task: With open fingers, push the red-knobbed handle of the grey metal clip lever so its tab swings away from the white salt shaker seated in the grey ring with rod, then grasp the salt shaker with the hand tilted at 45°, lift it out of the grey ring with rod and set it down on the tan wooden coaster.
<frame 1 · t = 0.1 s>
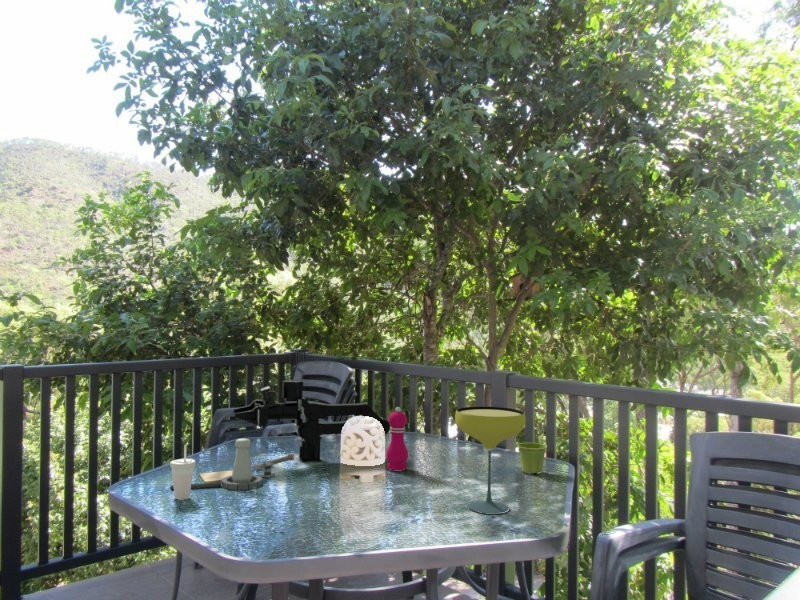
hand: (234, 413, 205), 17 cm above the table, tool horizontal, fingers open, 9 cm apart
salt shaker: (241, 485, 180), resting in grey ring with rod
coaster: (219, 477, 187), on the table
grey ring with rod: (241, 484, 180), on the table
clip: (275, 461, 193), point 4 cm above the table, hinge at 0.0°
plant pot: (531, 473, 200), on the table
cocktail glass: (488, 509, 162), on the table
smoothie: (181, 498, 166), on the table
clip post: (267, 475, 190), on the table
pepper mill: (396, 469, 201), on the table
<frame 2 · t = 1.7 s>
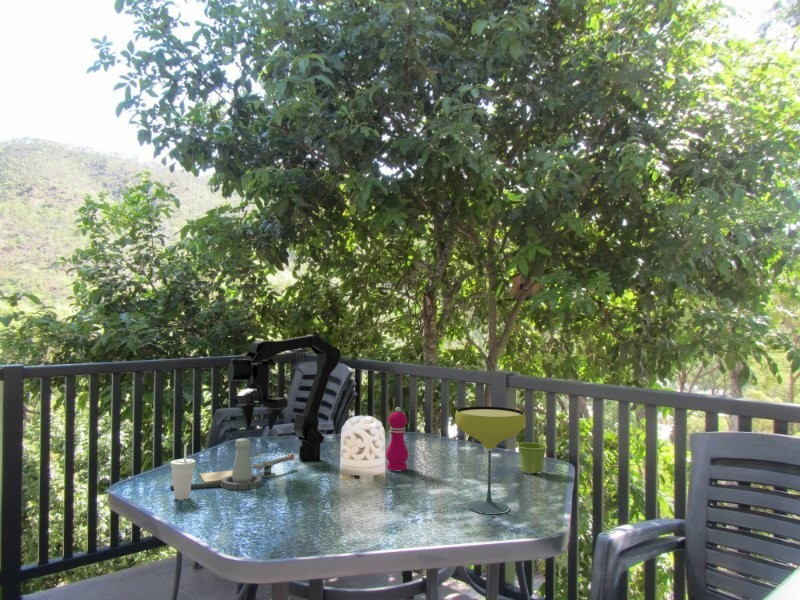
hand: (259, 428, 201), 12 cm above the table, tool pointing down, fingers open, 9 cm apart
nothing on the table moved.
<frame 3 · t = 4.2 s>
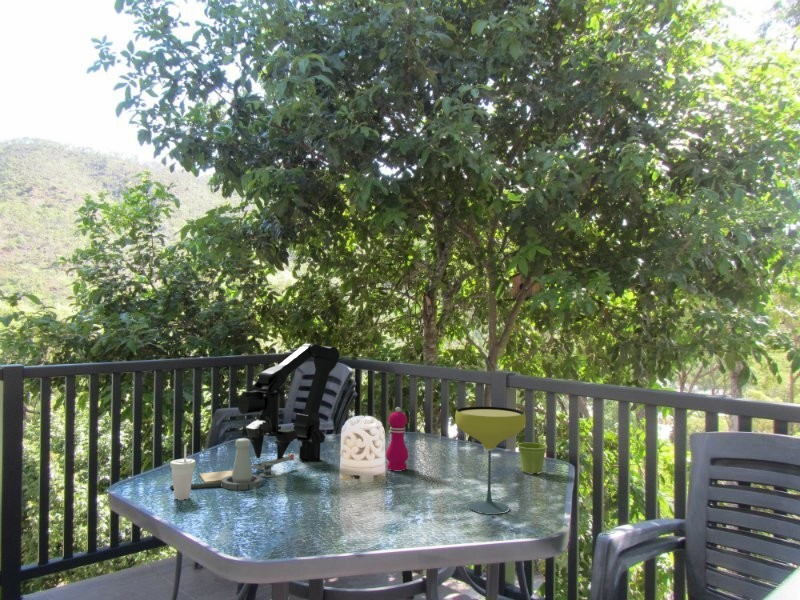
hand: (268, 459, 199), 3 cm above the table, tool pointing down, fingers open, 8 cm apart
clip: (275, 461, 193), point 4 cm above the table, hinge at 0.0°, touching gripper
everything else where it was.
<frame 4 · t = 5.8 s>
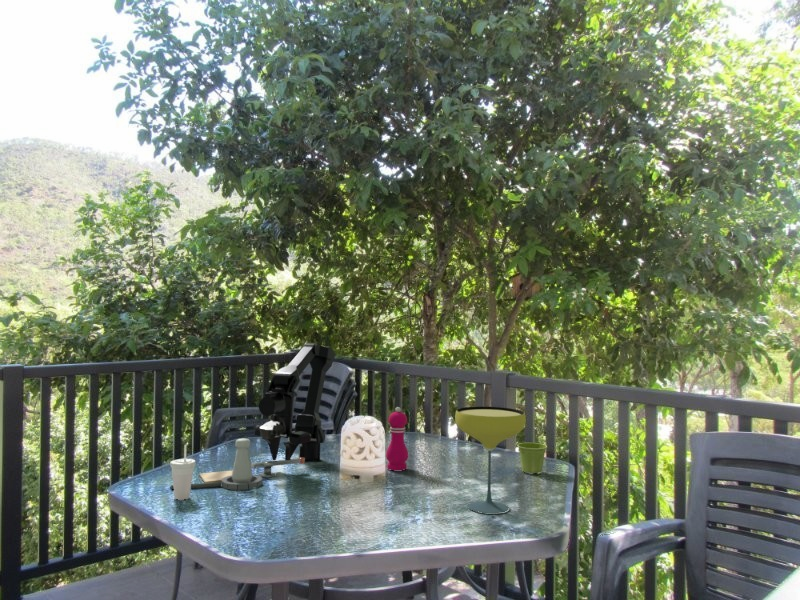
hand: (280, 461, 196), 3 cm above the table, tool pointing down, fingers open, 5 cm apart
clip: (279, 462, 192), point 4 cm above the table, hinge at 31.4°, touching gripper
everything else where it was.
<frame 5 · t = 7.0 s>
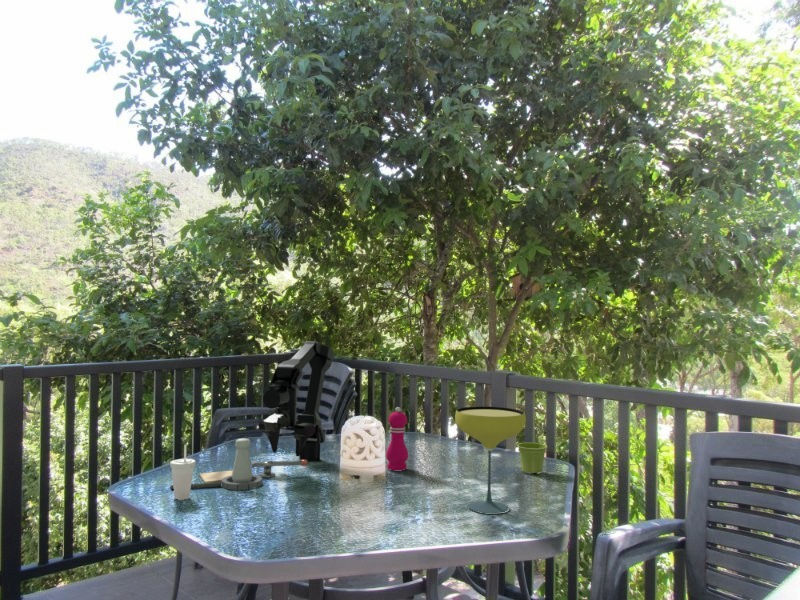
hand: (286, 454, 195), 5 cm above the table, tool pointing down, fingers open, 9 cm apart
clip: (279, 463, 191), point 4 cm above the table, hinge at 47.5°
everything else where it was.
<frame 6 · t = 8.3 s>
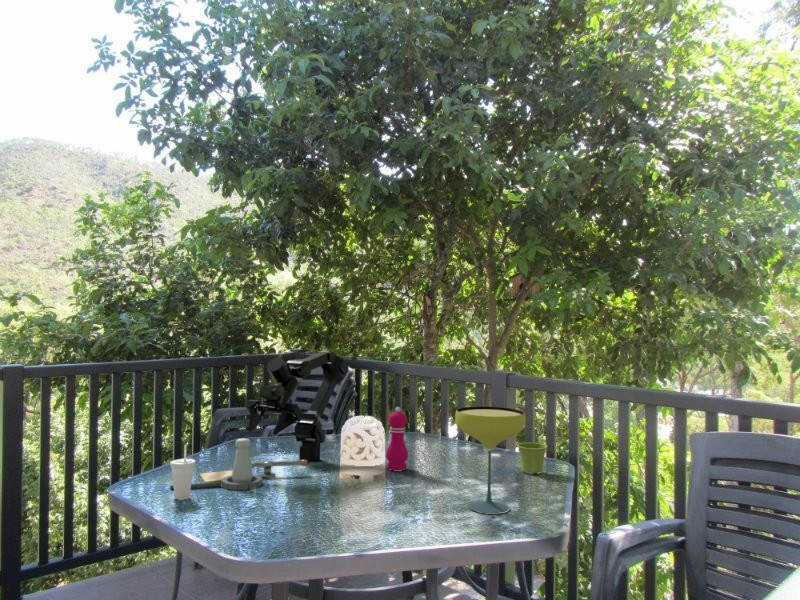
hand: (261, 432, 188), 13 cm above the table, tool tilted 45°, fingers open, 9 cm apart
nothing on the table moved.
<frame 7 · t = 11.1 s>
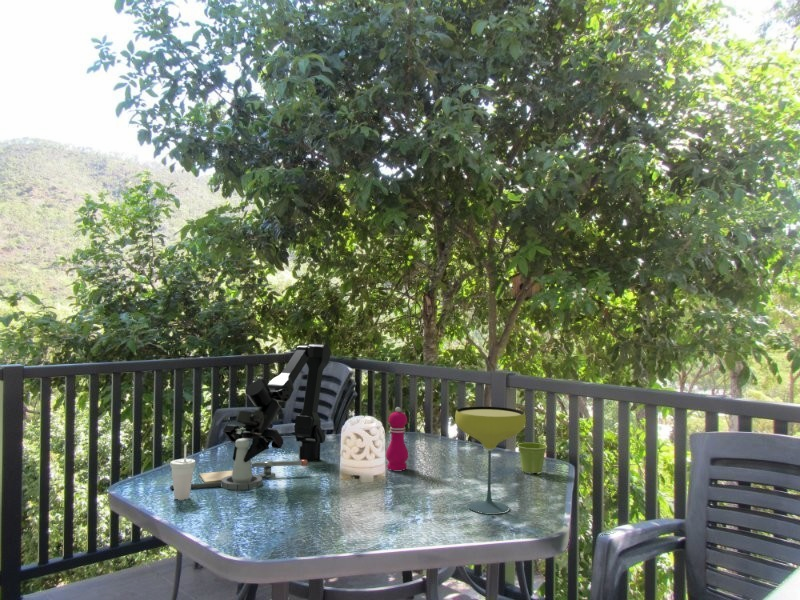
hand: (239, 460, 179), 7 cm above the table, tool tilted 45°, fingers closed on salt shaker, 4 cm apart
salt shaker: (241, 485, 180), resting in grey ring with rod, touching gripper
everything else where it was.
when the fingers open (8 cm above the table, at t = 14.0 s): salt shaker stays where it is, resting on coaster.
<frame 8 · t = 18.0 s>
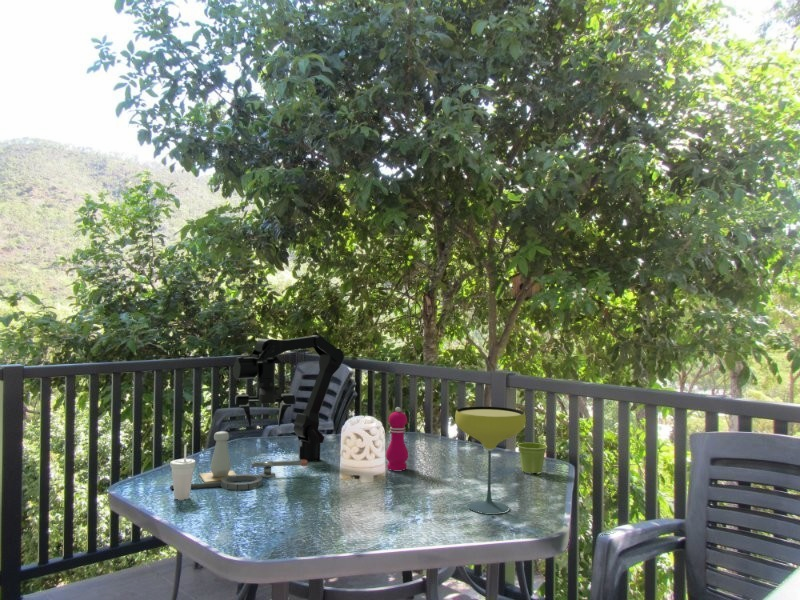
hand: (264, 426, 202), 13 cm above the table, tool pointing down, fingers open, 9 cm apart
salt shaker: (220, 476, 187), resting on coaster
everything else where it was.
at the end: clip at +48° (first picture: +0°); salt shaker inside the target area on the coaster (0.3 cm from its centre), point 0.4 cm above the coaster's base; salt shaker tilted 0° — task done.
